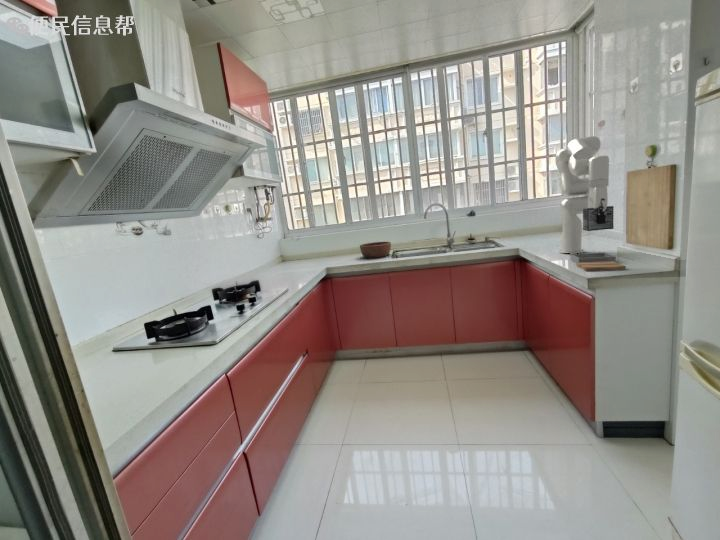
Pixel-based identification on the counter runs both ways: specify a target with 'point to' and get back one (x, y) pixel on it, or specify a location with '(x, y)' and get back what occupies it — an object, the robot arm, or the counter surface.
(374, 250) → the wooden bowl
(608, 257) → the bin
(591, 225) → the small box
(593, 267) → the walnut board
